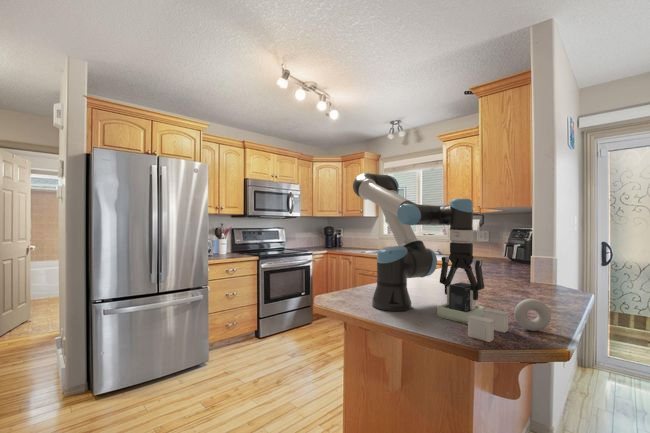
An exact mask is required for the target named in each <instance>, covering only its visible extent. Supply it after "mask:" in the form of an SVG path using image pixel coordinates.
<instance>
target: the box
mask: <svg viewBox="0 0 650 433" xmlns="http://www.w3.org/2000/svg"><path fill="white" fill-rule="evenodd" d="M470 290H472V287H471V284H470V283H466V282H462V281H461V282H457V283H451V284H450V301H449V309H453V310H458V311H462V312H469V311H472V310H470ZM473 310H474V309H473Z"/></svg>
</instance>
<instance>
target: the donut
mask: <svg viewBox="0 0 650 433" xmlns="http://www.w3.org/2000/svg"><path fill="white" fill-rule="evenodd" d="M532 310H533V311H536V312H537V317H536V318H534V319H530V318H528V313H529V311H532ZM513 315H514V319H515V321H516V322H517V324H518V325H519V326H520V327H521V328H523V329H525V330H527V331H530V332H539V331H542V330H544V329H546V328H547V327H548V326H549V325H550V323H551V320H552V314H551V310H550V308H549V306H547V304H545V303H544V302H543V301H541V300H539V299H535V298H525V299H522V300H521V301H519V302H518V303H517V305H516V306H515V308H514V312H513Z"/></svg>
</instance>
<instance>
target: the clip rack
mask: <svg viewBox="0 0 650 433" xmlns="http://www.w3.org/2000/svg"><path fill="white" fill-rule="evenodd" d="M483 312H484V317H480V316H475V315H470V316H468V317H467V319H468V324H467V337H470V338H473V339H477V340H481V341H483V342H488V343H490V342H492V341H493V340H494V339H495V338H494V336H495V335H494V333H495V332H494V331H496V332H499V333H507V332H508V331H509V315H510V312H509V311H504V310H500V309H499V310H498V309H494V308H489V307H485V309H484V310H483Z"/></svg>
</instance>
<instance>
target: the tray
mask: <svg viewBox="0 0 650 433" xmlns="http://www.w3.org/2000/svg"><path fill="white" fill-rule="evenodd" d="M484 309H486V307H485V306H481V305H477V304H476V309H474V310H472V311H469V312H462V311H458V310H453V309H449V305H447V302H446V303H444V304H441V305H438V306H437V307H436V317H437V318H442V319H446V320H449V321H453V320H454V321H453V322H457V321H458V322H457V323H461V322H462V323H461V324H464V325H468V319H467V317H468V316H470V315H475V316H480V317H484V312H483V310H484Z"/></svg>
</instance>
